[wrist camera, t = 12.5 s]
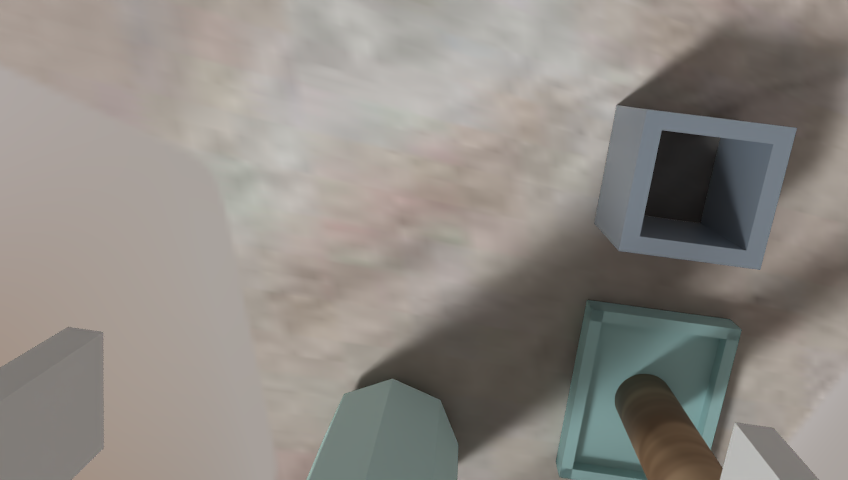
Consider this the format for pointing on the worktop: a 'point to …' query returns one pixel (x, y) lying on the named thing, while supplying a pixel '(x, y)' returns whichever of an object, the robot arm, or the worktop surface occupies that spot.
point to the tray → (631, 355)
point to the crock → (726, 198)
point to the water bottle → (387, 437)
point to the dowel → (663, 432)
